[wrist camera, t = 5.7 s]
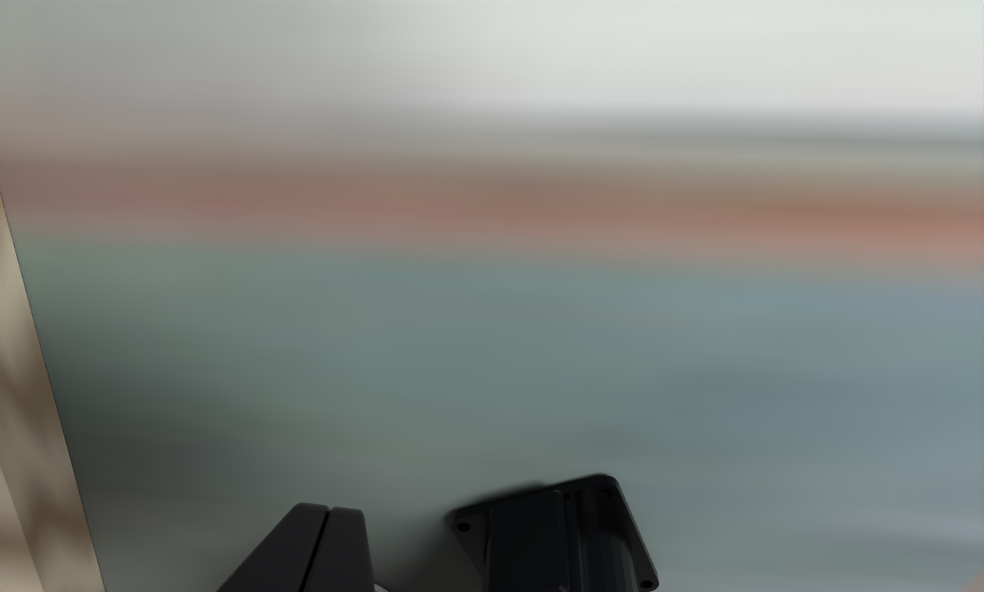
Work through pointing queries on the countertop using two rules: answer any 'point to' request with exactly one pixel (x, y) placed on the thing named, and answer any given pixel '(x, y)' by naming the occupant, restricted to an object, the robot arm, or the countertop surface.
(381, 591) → the coffee cup
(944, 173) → the countertop surface
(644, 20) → the countertop surface
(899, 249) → the countertop surface
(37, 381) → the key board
